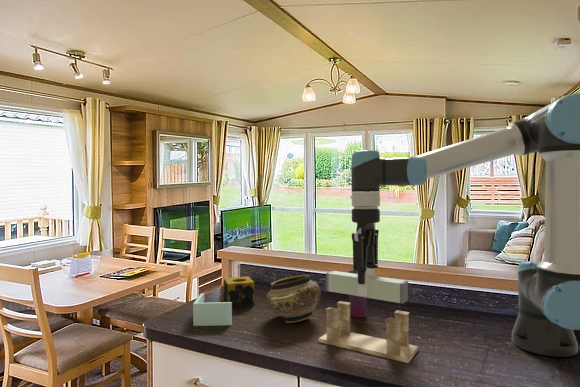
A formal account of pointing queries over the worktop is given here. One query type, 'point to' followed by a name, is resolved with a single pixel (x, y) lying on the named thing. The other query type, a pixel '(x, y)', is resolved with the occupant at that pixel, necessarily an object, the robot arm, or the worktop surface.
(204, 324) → the l-shaped corner panel
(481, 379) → the worktop surface
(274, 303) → the ceramic bowl
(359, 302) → the cup
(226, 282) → the yellow patterned cube
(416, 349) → the bar on post stand
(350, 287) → the rail
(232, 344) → the worktop surface
